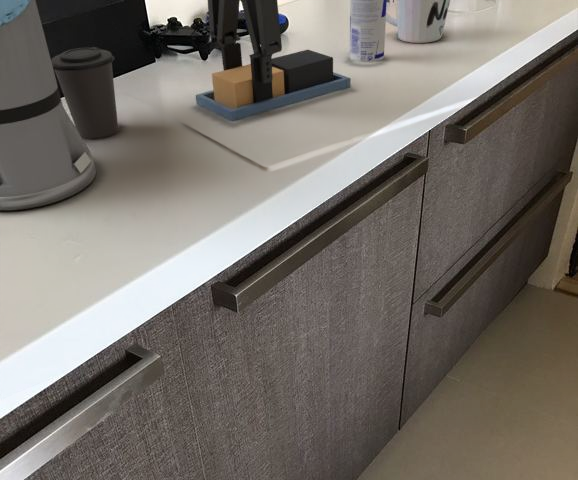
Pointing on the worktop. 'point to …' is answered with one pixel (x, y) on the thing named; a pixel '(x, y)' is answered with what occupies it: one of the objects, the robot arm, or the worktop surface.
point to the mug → (420, 19)
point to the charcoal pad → (304, 70)
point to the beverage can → (367, 30)
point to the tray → (273, 103)
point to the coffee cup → (88, 90)
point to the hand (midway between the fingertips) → (249, 99)
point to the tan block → (242, 86)
